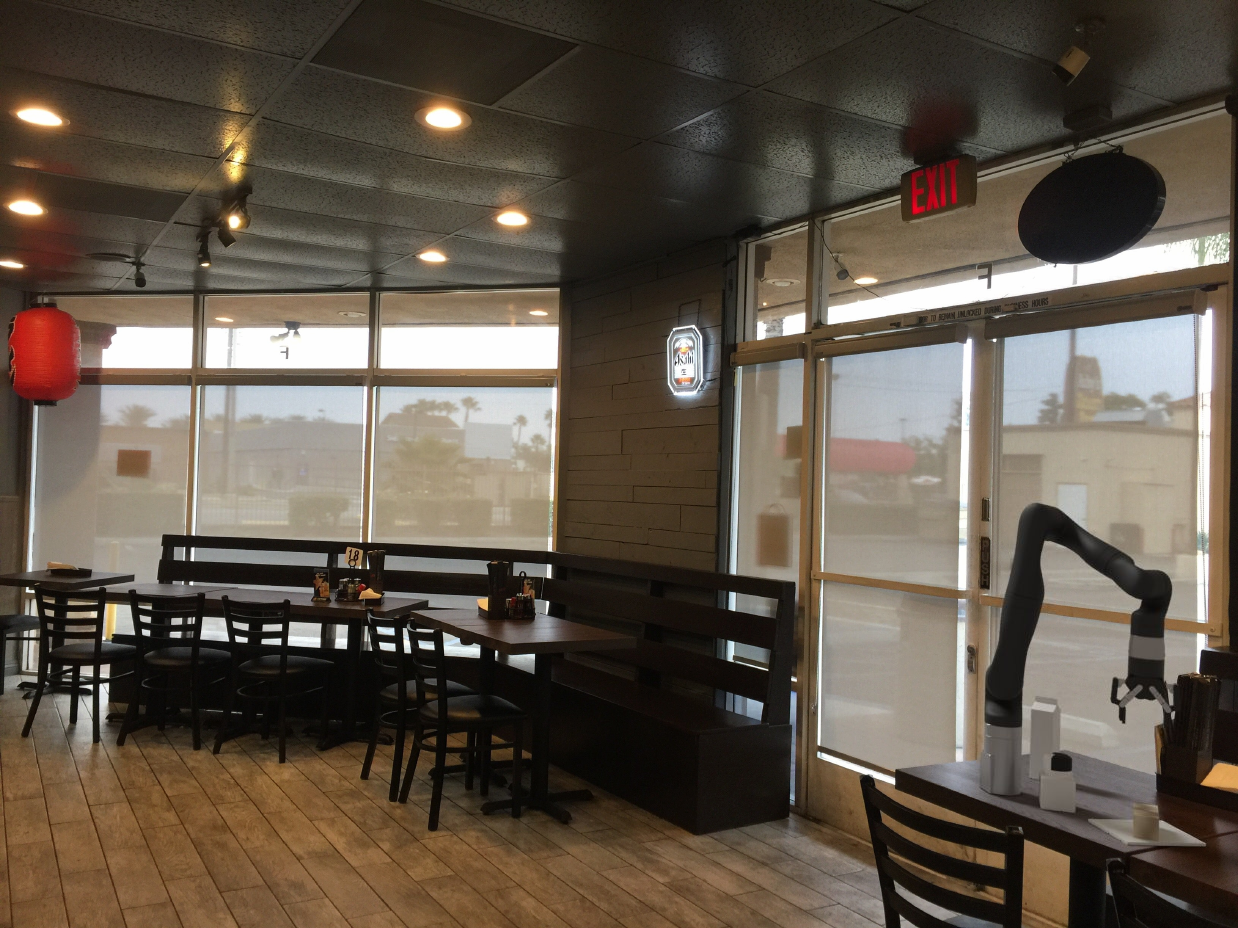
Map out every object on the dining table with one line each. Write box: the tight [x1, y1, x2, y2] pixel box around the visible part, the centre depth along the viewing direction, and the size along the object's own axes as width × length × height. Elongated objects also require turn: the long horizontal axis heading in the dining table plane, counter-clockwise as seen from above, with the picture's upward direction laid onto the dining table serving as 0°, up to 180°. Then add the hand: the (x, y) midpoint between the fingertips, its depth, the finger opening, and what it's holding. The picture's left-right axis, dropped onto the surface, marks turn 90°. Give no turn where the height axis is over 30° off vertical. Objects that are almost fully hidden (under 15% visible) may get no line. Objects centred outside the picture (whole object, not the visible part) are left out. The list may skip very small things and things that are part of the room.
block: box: [1132, 801, 1160, 842], centre depth 227 cm, size 5×5×12 cm
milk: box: [1028, 695, 1062, 781], centre depth 273 cm, size 6×6×22 cm
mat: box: [1087, 818, 1207, 847], centre depth 228 cm, size 18×16×1 cm
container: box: [1038, 752, 1077, 814], centre depth 246 cm, size 8×8×13 cm
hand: (1144, 725), depth 232 cm, fingers open, 8 cm apart
